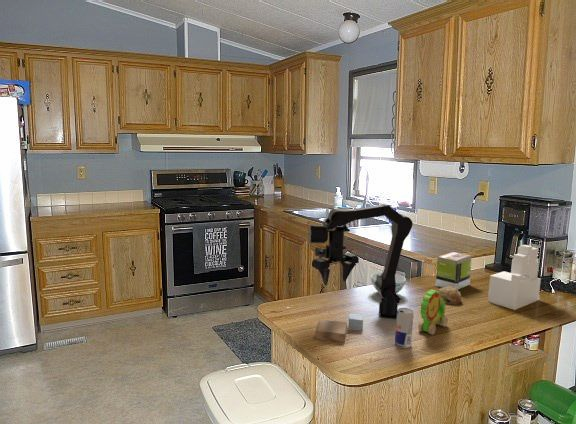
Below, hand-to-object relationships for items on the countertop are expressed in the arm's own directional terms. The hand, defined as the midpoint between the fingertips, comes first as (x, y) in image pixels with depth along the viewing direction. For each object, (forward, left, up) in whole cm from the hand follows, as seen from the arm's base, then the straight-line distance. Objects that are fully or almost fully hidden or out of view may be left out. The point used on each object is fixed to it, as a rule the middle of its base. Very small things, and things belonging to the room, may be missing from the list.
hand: (335, 283), depth 172 cm
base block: (-1, +17, -13) cm, 22 cm away
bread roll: (-47, -32, -13) cm, 58 cm away
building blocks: (-75, -38, -13) cm, 85 cm away
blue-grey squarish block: (-9, +8, -13) cm, 18 cm away
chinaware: (-21, -32, -13) cm, 40 cm away
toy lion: (-36, +3, -13) cm, 38 cm away
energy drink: (-25, +19, -13) cm, 34 cm away
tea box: (-52, -54, -13) cm, 76 cm away
